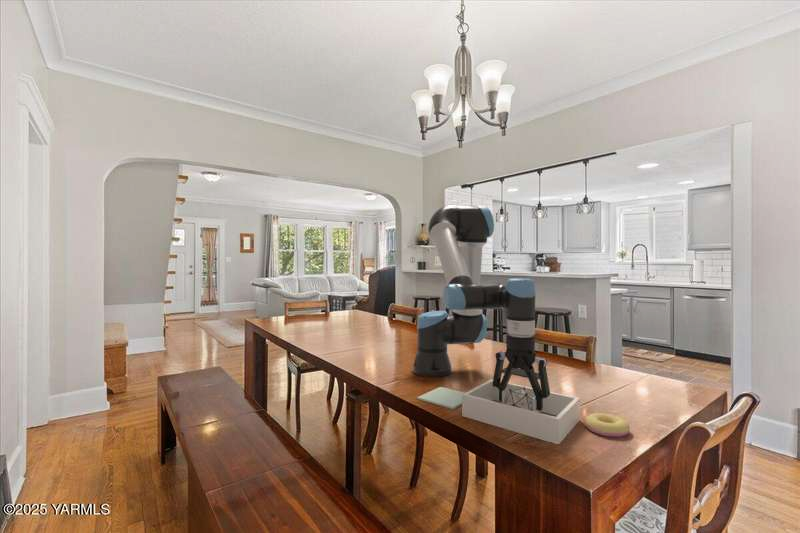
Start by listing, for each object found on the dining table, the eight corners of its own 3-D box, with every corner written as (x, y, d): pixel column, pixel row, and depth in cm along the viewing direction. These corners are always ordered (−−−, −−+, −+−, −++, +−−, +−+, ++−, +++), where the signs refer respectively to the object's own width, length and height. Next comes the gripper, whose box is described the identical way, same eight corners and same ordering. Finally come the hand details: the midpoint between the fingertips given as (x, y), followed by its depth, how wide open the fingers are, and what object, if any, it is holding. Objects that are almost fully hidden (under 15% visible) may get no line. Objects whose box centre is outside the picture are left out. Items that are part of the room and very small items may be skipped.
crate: (462, 416, 106) (462, 394, 106) (491, 398, 120) (491, 379, 119) (558, 444, 89) (558, 419, 89) (579, 420, 103) (579, 398, 103)
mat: (417, 399, 119) (417, 397, 119) (440, 388, 129) (440, 386, 129) (453, 409, 110) (453, 407, 110) (474, 397, 120) (474, 395, 120)
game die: (527, 433, 103) (542, 413, 97) (496, 420, 104) (510, 399, 99) (529, 407, 110) (543, 386, 104) (501, 395, 111) (513, 374, 106)
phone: (537, 378, 138) (499, 370, 148) (537, 381, 138) (499, 372, 148) (544, 374, 144) (507, 366, 154) (544, 376, 144) (507, 368, 154)
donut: (582, 430, 102) (593, 441, 93) (579, 412, 103) (589, 421, 94) (622, 427, 100) (637, 438, 91) (618, 409, 101) (633, 418, 92)
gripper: (479, 332, 108) (479, 411, 108) (555, 342, 94) (554, 432, 95) (491, 328, 114) (491, 404, 114) (564, 337, 100) (563, 422, 101)
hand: (520, 417), depth 104 cm, fingers closed on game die, 8 cm apart
